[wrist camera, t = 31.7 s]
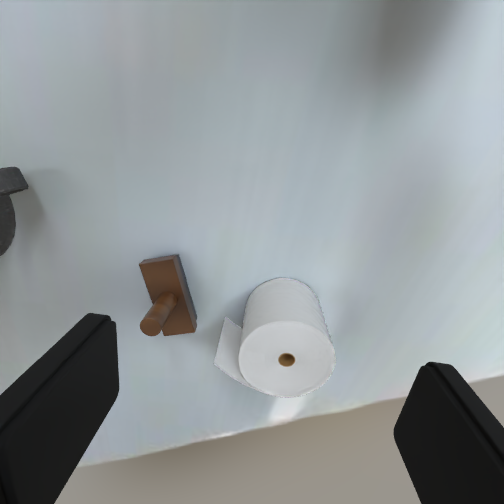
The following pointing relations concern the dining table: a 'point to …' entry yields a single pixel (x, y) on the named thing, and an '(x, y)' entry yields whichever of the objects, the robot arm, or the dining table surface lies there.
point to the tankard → (8, 203)
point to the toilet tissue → (278, 341)
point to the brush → (167, 298)
